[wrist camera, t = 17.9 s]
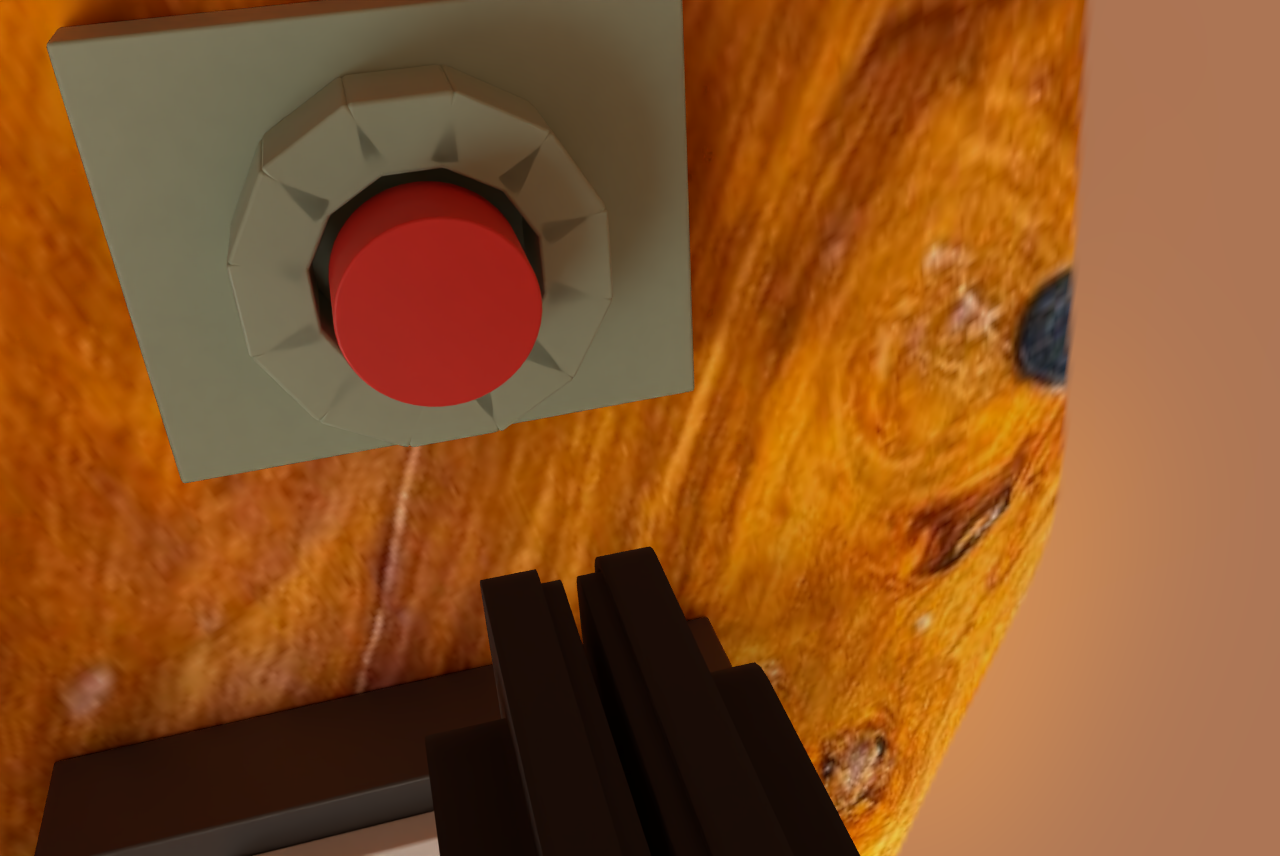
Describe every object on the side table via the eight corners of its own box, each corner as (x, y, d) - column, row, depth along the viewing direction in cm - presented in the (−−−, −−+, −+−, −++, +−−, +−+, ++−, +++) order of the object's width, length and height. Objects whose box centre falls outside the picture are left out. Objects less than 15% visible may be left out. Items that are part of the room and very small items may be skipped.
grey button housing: (662, -36, 20) (717, -6, 18) (678, 365, 24) (724, 435, 22) (56, 27, 18) (22, 70, 16) (185, 452, 22) (175, 540, 20)
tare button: (511, 167, 19) (532, 202, 17) (531, 343, 20) (552, 389, 19) (310, 194, 18) (313, 233, 17) (347, 374, 20) (353, 424, 18)
